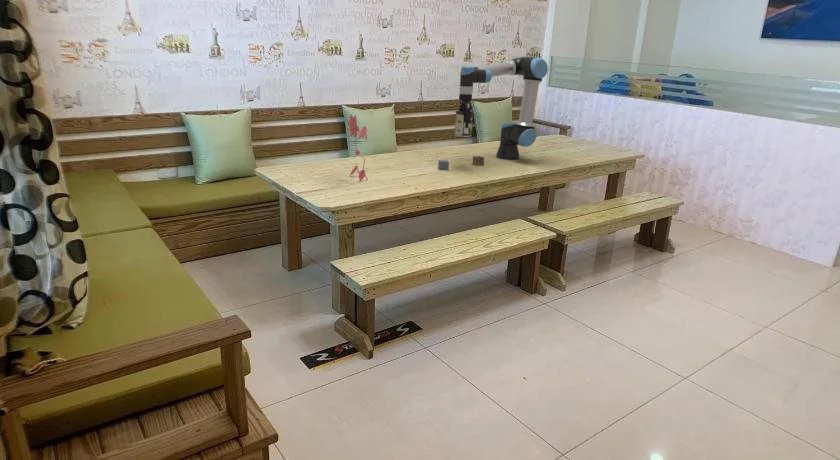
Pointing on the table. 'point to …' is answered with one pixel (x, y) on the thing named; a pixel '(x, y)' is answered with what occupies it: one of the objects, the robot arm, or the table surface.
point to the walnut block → (478, 160)
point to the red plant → (353, 131)
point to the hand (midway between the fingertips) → (463, 131)
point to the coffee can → (462, 124)
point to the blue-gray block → (443, 165)
